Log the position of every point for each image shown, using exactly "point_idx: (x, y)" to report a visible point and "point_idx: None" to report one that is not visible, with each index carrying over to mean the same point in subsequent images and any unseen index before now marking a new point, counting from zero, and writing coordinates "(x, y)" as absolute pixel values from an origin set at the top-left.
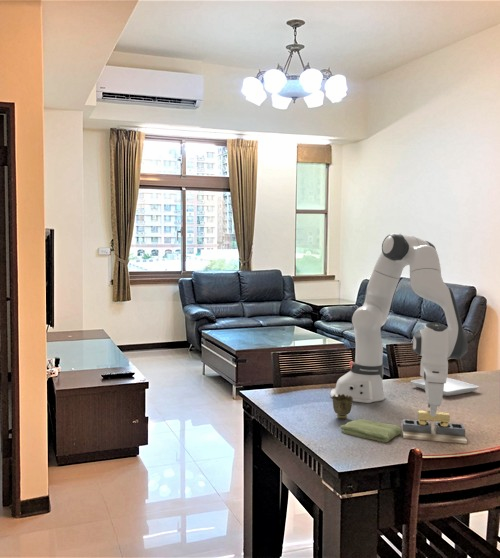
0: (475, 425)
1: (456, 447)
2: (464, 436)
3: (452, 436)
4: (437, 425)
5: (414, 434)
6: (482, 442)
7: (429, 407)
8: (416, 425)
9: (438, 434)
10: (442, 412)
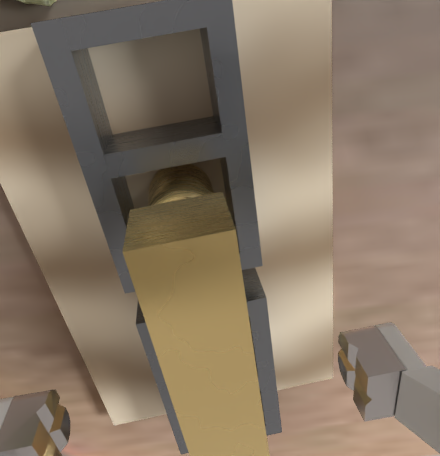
0: None
1: (18, 382)
2: None
3: (146, 366)
4: None
5: (30, 145)
6: (178, 450)
7: (339, 342)
8: (84, 175)
9: None
10: (259, 427)
